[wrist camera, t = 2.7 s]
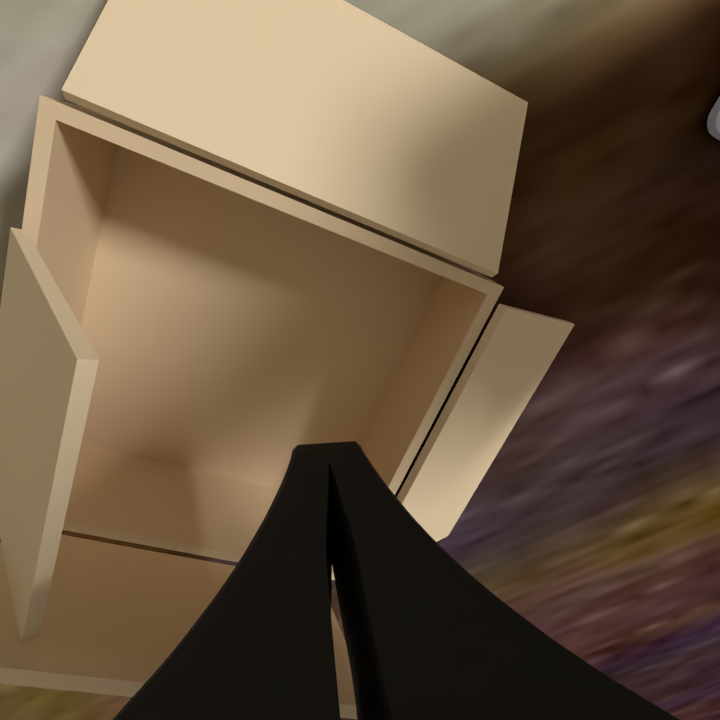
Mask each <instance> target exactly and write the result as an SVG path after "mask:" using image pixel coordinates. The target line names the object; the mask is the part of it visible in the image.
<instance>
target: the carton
mask: <svg viewBox="0 0 720 720" xmlns="http://www.w3.org/2000/svg"><path fill="white" fill-rule="evenodd" d="M22 230H26V231H27V233H28V234H29V236H30V238H31V240H32V242H33V243H34V245H35V247H36V249H37V250H38V252H39V254H40V256H41V257H42V259H43V261H44V263H45V265H46V266H47V268H48V270H49V272H50V273H51V275H52V277H53V279H54V280H55V282H56V284H57V286H58V288H59V289H60V291H61V293H62V295H63V296H64V298H65V300H66V302H67V303H68V305H69V307H70V309H71V311H72V312H73V314H74V316H75V318H76V319H77V321H78V323H79V325H80V327H81V328H82V330H83V332H84V334H85V335H86V337H87V339H88V341H89V342H90V344H91V346H92V348H93V350H94V351H95V353H96V355H97V357H98V358H99V363H98V368H97V372H96V377H95V382H94V386H93V391H92V396H91V400H90V405H89V409H88V414H87V419H86V423H85V428H84V433H83V437H82V442H81V447H80V451H79V456H78V460H77V465H76V470H75V474H74V479H73V484H72V488H71V493H70V497H69V502H68V507H67V511H66V516H65V521H64V525H63V530H66V531H72V532H77V533H83V534H88V535H93V536H99V537H104V538H110V539H115V540H120V541H126V542H131V543H137V544H142V545H147V546H153V547H158V548H163V549H169V550H174V551H180V552H185V553H190V554H196V555H201V556H207V557H212V558H217V559H223V560H228V561H234V562H239V560H240V559H241V557H242V556H243V554H244V553H245V551H246V549H247V548H248V546H249V544H250V542H251V541H252V539H253V537H254V535H255V534H256V532H257V530H258V528H259V527H260V525H261V523H262V522H263V520H264V518H265V516H266V514H267V512H268V510H269V508H270V506H271V504H272V502H273V500H274V498H275V496H276V494H277V492H278V490H279V487H280V485H281V483H282V480H283V478H284V476H285V473H286V471H287V468H288V465H289V462H290V459H291V455H292V450H293V449H294V448H295V447H296V446H297V445H304V444H319V443H334V442H348V441H356V442H357V443H358V444H359V445H360V446H361V448H362V450H363V452H364V453H365V455H366V456H367V458H368V460H369V461H370V463H371V464H372V465H373V467H374V468H375V470H376V471H377V473H378V474H379V475H380V477H381V478H382V480H383V481H384V482H385V484H386V485H387V486H388V487H389V489H390V490H391V491H392V492H393V494H394V495H395V494H396V492H397V490H398V488H399V486H400V484H401V482H402V480H403V479H404V477H405V475H406V473H407V471H408V469H409V467H410V465H411V463H412V461H413V460H414V458H415V456H416V454H417V452H418V450H419V448H420V446H421V444H422V442H423V440H424V439H425V437H426V435H427V433H428V431H429V429H430V427H431V425H432V423H433V421H434V420H435V418H436V416H437V414H438V412H439V410H440V408H441V406H442V404H443V402H444V400H445V399H446V397H447V395H448V393H449V391H450V389H451V387H452V385H453V383H454V381H455V380H456V378H457V376H458V374H459V372H460V370H461V368H462V366H463V364H464V362H465V360H466V359H467V357H468V355H469V353H470V351H471V349H472V347H473V345H474V343H475V341H476V340H477V338H478V336H479V334H480V332H481V330H482V328H483V326H484V324H485V322H486V320H487V319H488V317H489V315H490V313H491V311H492V309H493V307H494V305H495V303H496V301H497V300H498V298H499V296H500V294H501V292H502V290H503V288H504V287H503V286H501V285H499V284H498V283H496V282H494V281H493V280H491V279H489V278H487V277H486V276H484V275H482V274H481V273H479V272H477V271H475V270H473V269H470V268H468V267H465V266H463V265H461V264H458V263H456V262H453V261H451V260H449V259H446V258H444V257H441V256H439V255H437V254H434V253H432V252H429V251H427V250H425V249H422V248H420V247H417V246H415V245H413V244H410V243H408V242H406V241H403V240H401V239H398V238H396V237H394V236H391V235H389V234H386V233H384V232H382V231H379V230H377V229H374V228H372V227H370V226H367V225H365V224H362V223H360V222H358V221H355V220H353V219H350V218H348V217H346V216H343V215H341V214H338V213H336V212H334V211H331V210H329V209H326V208H324V207H322V206H319V205H317V204H315V203H312V202H310V201H307V200H305V199H303V198H300V197H298V196H295V195H293V194H291V193H288V192H286V191H283V190H281V189H279V188H276V187H274V186H271V185H269V184H267V183H264V182H262V181H259V180H257V179H255V178H252V177H250V176H247V175H245V174H243V173H240V172H238V171H235V170H233V169H231V168H228V167H226V166H223V165H221V164H219V163H216V162H214V161H212V160H209V159H207V158H204V157H202V156H200V155H197V154H195V153H192V152H190V151H188V150H185V149H183V148H180V147H178V146H176V145H173V144H171V143H168V142H166V141H164V140H161V139H159V138H156V137H154V136H152V135H149V134H147V133H144V132H142V131H140V130H137V129H135V128H132V127H130V126H128V125H125V124H123V123H121V122H118V121H116V120H113V119H111V118H109V117H106V116H104V115H101V114H99V113H97V112H94V111H92V110H89V109H87V108H85V107H82V106H78V105H75V104H71V103H67V102H64V101H60V100H57V99H53V98H49V97H46V96H42V95H40V98H39V105H38V113H37V120H36V127H35V135H34V142H33V150H32V157H31V164H30V172H29V179H28V186H27V194H26V201H25V209H24V216H23V223H22ZM332 580H335V578H334V573H333V567H332Z"/></svg>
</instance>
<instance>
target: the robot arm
mask: <svg viewBox="0 0 720 720" xmlns="http://www.w3.org/2000/svg"><path fill="white" fill-rule="evenodd" d="M707 128H708V132H709V133H710V134H711V135H712V136H713V137H715V138H716V139H718V140H720V96H719V98H718V100H717V101H716V103H715V105H714V106H713V108H712V110H711V112H710V114H709V116H708V120H707ZM332 567H333V573H334V578H335V584H336V590H337V595H338V601H339V607H340V612H341V618H342V624H343V629H344V635H345V640H346V646H347V652H348V657H349V663H350V668H351V674H352V681H353V688H354V695H355V702H356V713H357V720H679V719H677V718H675V717H674V716H672V715H670V714H669V713H667V712H666V711H664V710H662V709H661V708H659V707H657V706H656V705H654V704H652V703H651V702H649V701H647V700H646V699H644V698H642V697H641V696H639V695H638V694H636V693H634V692H633V691H631V690H629V689H628V688H626V687H624V686H623V685H621V684H619V683H618V682H616V681H614V680H613V679H611V678H609V677H608V676H606V675H605V674H603V673H602V672H600V671H598V670H597V669H595V668H594V667H592V666H591V665H589V664H588V663H587V662H585V661H584V660H582V659H581V658H579V657H578V656H576V655H575V654H573V653H572V652H570V651H569V650H567V649H566V648H564V647H563V646H562V645H560V644H559V643H557V642H556V641H554V640H553V639H551V638H550V637H549V636H547V635H546V634H544V633H543V632H542V631H541V630H539V629H538V628H537V627H535V626H534V625H533V624H531V623H530V622H529V621H527V620H526V619H525V618H524V617H522V616H521V615H520V614H518V613H517V612H516V611H514V610H513V609H512V608H510V607H509V606H508V605H506V604H505V603H504V602H503V601H501V600H500V599H499V598H497V597H496V596H495V595H494V594H493V593H491V592H490V591H489V590H488V589H487V588H486V587H484V586H483V585H482V584H481V583H480V582H479V581H477V580H476V579H475V578H474V577H473V576H472V575H470V574H469V573H468V572H467V571H466V570H465V569H464V568H463V567H462V566H461V565H460V564H458V563H457V562H456V561H455V560H454V559H453V558H452V557H451V556H450V555H449V554H448V553H447V552H446V551H445V550H444V549H443V548H442V547H441V546H440V545H439V544H438V543H437V542H436V541H435V540H434V539H433V538H432V537H431V536H430V535H429V534H428V533H427V532H426V531H425V530H424V529H423V527H422V526H421V525H420V524H419V523H418V522H417V521H416V520H415V519H414V518H413V516H412V515H411V514H410V513H409V512H408V511H407V510H406V508H405V507H404V506H403V505H402V504H401V502H400V501H399V500H398V499H397V497H396V496H395V495H394V494H393V492H392V491H391V490H390V489H389V487H388V486H387V485H386V484H385V482H384V481H383V480H382V478H381V477H380V475H379V474H378V473H377V471H376V470H375V468H374V467H373V465H372V464H371V463H370V461H369V460H368V458H367V456H366V455H365V453H364V452H363V450H362V448H361V446H360V445H359V444H358V443H357V442H356V441H348V442H334V443H319V444H304V445H297V446H296V447H295V448H294V449H293V450H292V455H291V459H290V462H289V465H288V468H287V471H286V473H285V476H284V478H283V480H282V483H281V485H280V487H279V490H278V492H277V494H276V496H275V498H274V500H273V502H272V504H271V506H270V508H269V510H268V512H267V514H266V516H265V518H264V520H263V522H262V523H261V525H260V527H259V528H258V530H257V532H256V534H255V535H254V537H253V539H252V541H251V542H250V544H249V546H248V548H247V549H246V551H245V553H244V554H243V556H242V557H241V559H240V560H239V562H238V564H237V565H236V567H235V568H234V570H233V571H232V573H231V574H230V576H229V577H228V579H227V580H226V582H225V583H224V584H223V586H222V587H221V589H220V590H219V592H218V593H217V594H216V596H215V597H214V599H213V600H212V601H211V603H210V604H209V605H208V607H207V608H206V609H205V611H204V612H203V613H202V614H201V616H200V617H199V618H198V620H197V621H196V622H195V624H194V625H193V626H192V628H191V629H190V630H189V631H188V633H187V634H186V635H185V637H184V638H183V639H182V640H181V642H180V643H179V644H178V645H177V646H176V648H175V649H174V650H173V651H172V653H171V654H170V655H169V656H168V657H167V659H166V660H165V661H164V662H163V663H162V664H161V666H160V667H159V668H158V669H157V670H156V671H155V672H154V673H153V675H152V676H151V677H150V678H149V679H148V680H147V681H146V683H145V684H144V685H143V686H142V687H141V688H140V689H139V690H138V692H137V693H136V694H135V695H134V696H133V697H132V698H131V699H130V701H129V702H128V703H127V704H126V705H125V706H124V707H123V708H122V710H121V711H120V712H119V713H118V714H117V715H116V716H115V717H114V719H113V720H341V719H340V708H339V698H338V687H337V676H336V665H335V654H334V644H333V632H332V621H331V589H332Z"/></svg>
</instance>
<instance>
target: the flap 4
mask: <svg viewBox="0 0 720 720" xmlns="http://www.w3.org/2000/svg"><path fill="white" fill-rule="evenodd" d="M574 325H575V324H573V323H571V322H569V321H566V320H562V319H558V318H554V317H550V316H546V315H542V314H538V313H534V312H530V311H526V310H522V309H518V308H514V307H511V306H507V305H503V304H499V305H498V307H497V308H496V310H495V312H494V314H493V316H492V318H491V320H490V322H489V324H488V325H487V327H486V329H485V331H484V333H483V335H482V337H481V339H480V341H479V343H478V344H477V346H476V348H475V350H474V352H473V354H472V356H471V358H470V360H469V361H468V363H467V365H466V367H465V369H464V371H463V373H462V375H461V377H460V379H459V380H458V382H457V384H456V386H455V388H454V390H453V392H452V394H451V396H450V397H449V399H448V401H447V403H446V405H445V407H444V409H443V411H442V413H441V414H440V416H439V418H438V420H437V422H436V424H435V426H434V428H433V430H432V432H431V433H430V435H429V437H428V439H427V441H426V443H425V445H424V447H423V449H422V450H421V452H420V454H419V456H418V458H417V460H416V462H415V464H414V466H413V467H412V469H411V471H410V473H409V475H408V477H407V479H406V481H405V483H404V485H403V486H402V488H401V490H400V492H399V494H398V496H397V499H398V500H399V501H400V502H401V504H402V505H403V506H404V507H405V508H406V510H407V511H408V512H409V513H410V514H411V515H412V516H413V518H414V519H415V520H416V521H417V522H418V523H419V524H420V525H421V526H422V527H423V529H424V530H425V531H426V532H427V533H428V534H429V535H430V536H431V537H432V538H433V539H434V540H435V541H436V542H437V541H439V540H441V539H443V538H445V537H447V536H448V535H449V533H450V532H451V530H452V528H453V527H454V525H455V523H456V522H457V520H458V518H459V517H460V515H461V513H462V512H463V510H464V508H465V507H466V505H467V503H468V502H469V500H470V498H471V497H472V495H473V493H474V492H475V490H476V488H477V487H478V485H479V483H480V482H481V480H482V478H483V477H484V475H485V473H486V472H487V470H488V468H489V467H490V465H491V463H492V462H493V460H494V458H495V457H496V455H497V453H498V452H499V450H500V448H501V447H502V445H503V443H504V442H505V440H506V438H507V437H508V435H509V433H510V432H511V430H512V428H513V427H514V425H515V423H516V422H517V420H518V418H519V417H520V415H521V413H522V412H523V410H524V408H525V407H526V405H527V403H528V402H529V400H530V398H531V397H532V395H533V393H534V392H535V390H536V388H537V387H538V385H539V383H540V382H541V380H542V378H543V377H544V375H545V373H546V372H547V370H548V368H549V367H550V365H551V363H552V362H553V360H554V358H555V357H556V355H557V353H558V352H559V350H560V348H561V347H562V345H563V343H564V342H565V340H566V338H567V337H568V335H569V333H570V332H571V330H572V328H573V327H574Z"/></svg>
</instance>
